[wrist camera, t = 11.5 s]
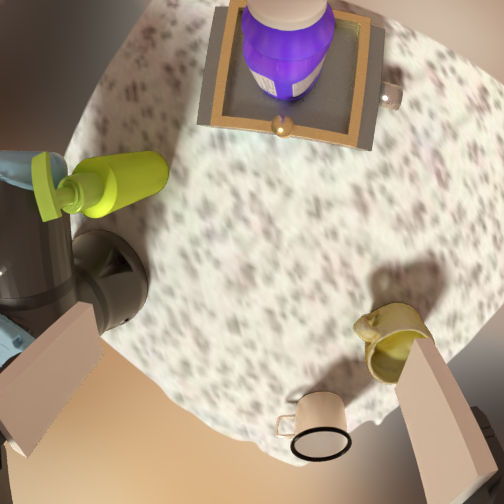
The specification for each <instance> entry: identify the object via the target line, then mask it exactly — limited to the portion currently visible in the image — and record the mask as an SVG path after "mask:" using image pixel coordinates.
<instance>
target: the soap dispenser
mask: <svg viewBox="0 0 504 504" xmlns="http://www.w3.org/2000/svg"><path fill="white" fill-rule="evenodd" d="M31 168H32V182H33V189H34V193H35V197H36V201H37V205H38V208H39V211H40V214H41V217H42V220H43V222H46V221H49V220H52V219H56V218H59V217H61V216H62V214H61V210H60V209H63V210H64V211H65V212H67V213H69V214H76V213H78V212H81V213H82V214H83V215H85V216H87V217H90V218H100V217H103V216H105V215H107V214H110V213H112V212H114V211H116V210H118V209H121V208H123V207H125V206H127V205H130V204H132V203H134V202H137V201H139V200H141V199H144V198H146V197H148V196H151V195H153V194H155V193H158V192H159V191H161V190H162V189H163V188H164V186H165V185H166V183H167V180H168V176H169V170H168V165H167V163H166V161H165V159H164V158H163V157H162V156H161V155H160V154H158V153H157V152H154V151H140V152H131V153H122V154H114V155H107V156H100V157H93V158H87V159H85V160H83V161H81V162H80V163H79V164H78V165H77V166H76V167H75V169H74V171H73V173H72V175H70V176H67V177H65V178H63V179H62V180H61V181H60V183H59V185H58V188H57V189H55V188H54V184H53V180H52V175H51V167H50V155H49V154H48V153H47V152H46V151H45V152H43V153H41V154H39V155H37V156H35V157H33V158H32V164H31Z"/></svg>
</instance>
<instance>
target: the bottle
mask: <svg viewBox="0 0 504 504" xmlns="http://www.w3.org/2000/svg"><path fill="white" fill-rule="evenodd" d="M334 26H335V19H334V13H333V11H332V9H331V7H330V5H329V4H328V3H327V0H247V5H246V7H245V9H244V11H243V15H242V31H243V34H244V40H243V55H244V59H245V61H246V63H247V65H248V67H249V69H250V70H251V72H252V74H253V76H254V78H255V79H256V81H257V83H258V85H259V86H260V87H261V88H262V89H263V90H264V91H265V92H267V93H268V94H270V95H272V96H274V97H276V98H280V99H282V100H287V101H292V100H296V99H299V98H300V97H302V96H304V95H305V94H306V93H307V92H308V91H309V90H310V88H311V87H312V86H313V84H314V83H315V81H316V80H317V78H318V76H319V74H320V72H321V70H322V67H323V63H324V59H325V56H326V53H327V51H328V49H329V47H330V45H331V42H332V39H333V35H334Z"/></svg>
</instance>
